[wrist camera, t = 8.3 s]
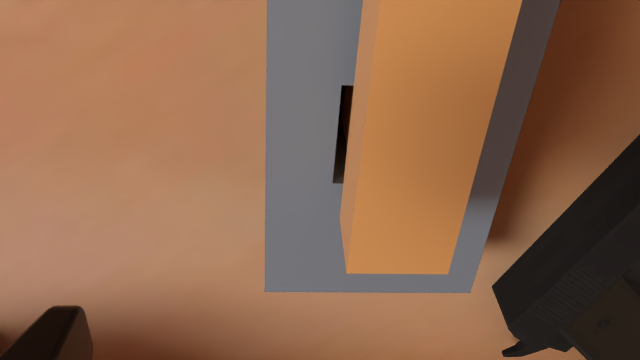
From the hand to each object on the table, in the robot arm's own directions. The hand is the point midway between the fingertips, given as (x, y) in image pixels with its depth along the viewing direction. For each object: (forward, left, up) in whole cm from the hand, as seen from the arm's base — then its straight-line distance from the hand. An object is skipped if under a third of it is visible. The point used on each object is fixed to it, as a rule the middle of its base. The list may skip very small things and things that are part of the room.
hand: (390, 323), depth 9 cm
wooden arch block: (+1, -2, -13) cm, 13 cm away
